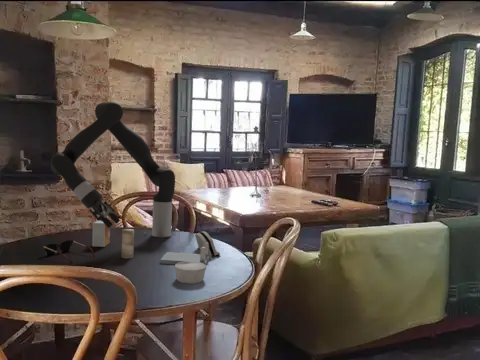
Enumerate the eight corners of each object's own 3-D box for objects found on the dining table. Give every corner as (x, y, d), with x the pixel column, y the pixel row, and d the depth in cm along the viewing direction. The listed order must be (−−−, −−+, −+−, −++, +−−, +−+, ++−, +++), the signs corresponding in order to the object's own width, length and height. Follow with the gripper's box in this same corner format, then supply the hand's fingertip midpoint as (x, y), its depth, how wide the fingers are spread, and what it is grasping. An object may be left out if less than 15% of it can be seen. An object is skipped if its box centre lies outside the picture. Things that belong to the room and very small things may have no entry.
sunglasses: (71, 250, 196) (72, 239, 195) (97, 259, 187) (98, 247, 187) (42, 257, 184) (43, 244, 183) (69, 267, 176) (70, 254, 175)
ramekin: (190, 273, 172) (190, 259, 171) (212, 280, 165) (212, 265, 164) (167, 279, 163) (167, 264, 163) (189, 287, 156) (190, 272, 156)
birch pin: (123, 254, 191) (124, 228, 190) (134, 255, 191) (135, 229, 190) (119, 257, 187) (120, 231, 186) (131, 258, 186) (132, 231, 185)
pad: (167, 255, 194) (167, 239, 193) (209, 258, 193) (210, 241, 192) (160, 263, 182) (160, 245, 181) (205, 266, 181) (206, 249, 180)
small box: (104, 247, 202) (105, 223, 201) (91, 246, 202) (92, 222, 201) (110, 243, 210) (110, 220, 209) (97, 242, 210) (98, 219, 209)
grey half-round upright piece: (220, 256, 196) (214, 235, 194) (210, 261, 195) (203, 239, 192) (209, 247, 212) (202, 227, 209) (199, 250, 210) (193, 230, 208)
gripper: (87, 190, 180) (115, 221, 181) (100, 186, 194) (126, 215, 195) (73, 203, 181) (101, 234, 181) (88, 198, 195) (114, 226, 196)
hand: (114, 224), depth 188 cm, fingers open, 8 cm apart
